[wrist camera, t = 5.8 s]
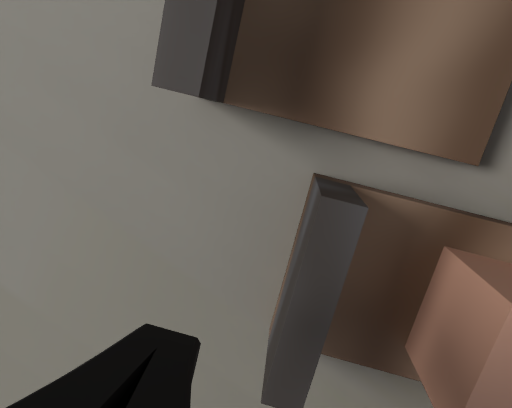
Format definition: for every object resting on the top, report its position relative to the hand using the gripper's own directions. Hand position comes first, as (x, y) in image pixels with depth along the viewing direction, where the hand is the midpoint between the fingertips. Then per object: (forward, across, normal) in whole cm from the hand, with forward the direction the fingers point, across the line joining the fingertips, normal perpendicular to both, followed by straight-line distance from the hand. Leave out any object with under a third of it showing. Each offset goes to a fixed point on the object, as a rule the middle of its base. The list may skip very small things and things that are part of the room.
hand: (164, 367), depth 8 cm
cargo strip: (+9, -9, 0) cm, 13 cm away
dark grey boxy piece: (+9, -3, -10) cm, 14 cm away
